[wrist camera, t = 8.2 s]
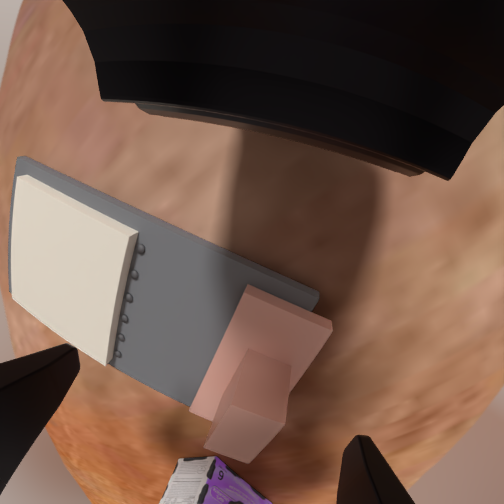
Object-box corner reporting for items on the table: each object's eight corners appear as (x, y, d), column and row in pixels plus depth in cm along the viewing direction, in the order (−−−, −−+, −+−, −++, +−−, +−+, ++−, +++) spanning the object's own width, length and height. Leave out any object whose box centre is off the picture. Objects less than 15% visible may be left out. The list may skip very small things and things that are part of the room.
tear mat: (318, 291, 19) (319, 298, 18) (239, 418, 24) (236, 426, 23) (25, 155, 19) (17, 156, 18) (15, 287, 24) (9, 291, 23)
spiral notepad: (148, 236, 19) (139, 241, 17) (120, 362, 23) (113, 371, 22) (27, 174, 19) (17, 176, 18) (20, 293, 23) (12, 298, 22)
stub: (331, 320, 18) (339, 388, 12) (256, 426, 22) (242, 486, 16) (247, 283, 18) (222, 341, 12) (192, 401, 22) (166, 457, 17)
